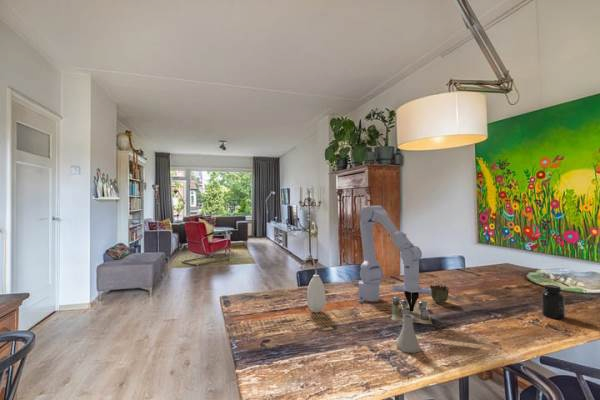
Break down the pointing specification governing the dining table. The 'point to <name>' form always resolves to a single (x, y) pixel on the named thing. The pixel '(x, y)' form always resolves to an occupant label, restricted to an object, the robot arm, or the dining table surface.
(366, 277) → the robot arm
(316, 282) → the sauce bottle
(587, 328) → the dining table surface
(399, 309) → the brass nut
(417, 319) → the birch board
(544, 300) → the supplement bottle
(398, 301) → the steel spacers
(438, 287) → the cup
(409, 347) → the flask
